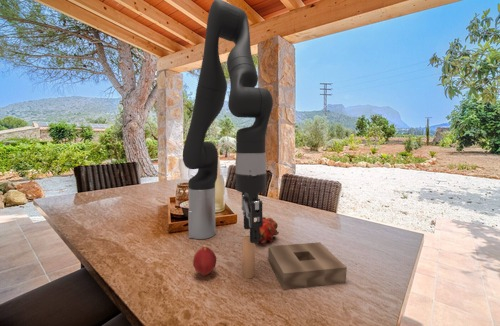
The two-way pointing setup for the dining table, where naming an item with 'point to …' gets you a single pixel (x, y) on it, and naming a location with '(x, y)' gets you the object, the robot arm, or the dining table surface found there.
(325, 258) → the hole block
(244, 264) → the peg
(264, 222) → the dragon fruit
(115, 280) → the dining table surface
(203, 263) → the onion
